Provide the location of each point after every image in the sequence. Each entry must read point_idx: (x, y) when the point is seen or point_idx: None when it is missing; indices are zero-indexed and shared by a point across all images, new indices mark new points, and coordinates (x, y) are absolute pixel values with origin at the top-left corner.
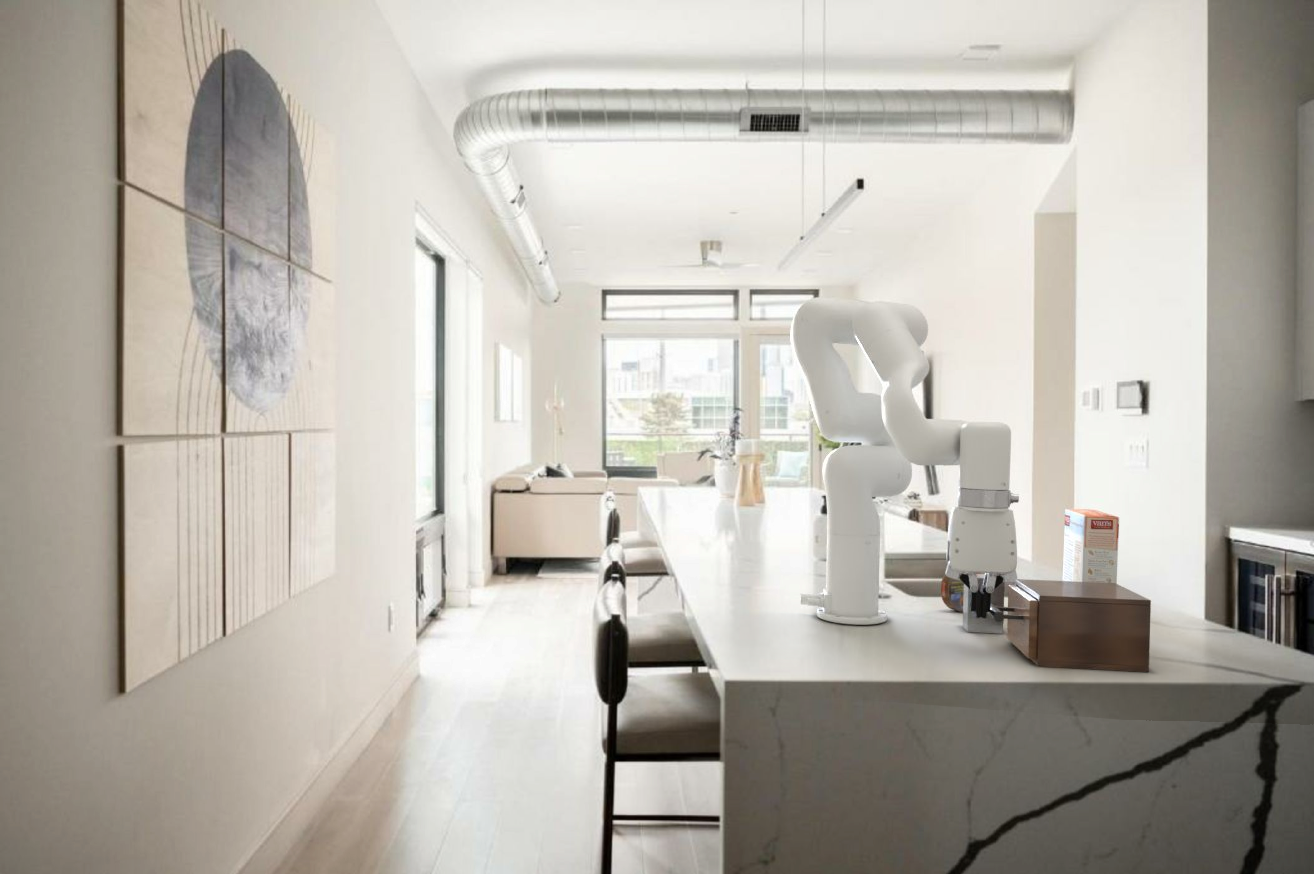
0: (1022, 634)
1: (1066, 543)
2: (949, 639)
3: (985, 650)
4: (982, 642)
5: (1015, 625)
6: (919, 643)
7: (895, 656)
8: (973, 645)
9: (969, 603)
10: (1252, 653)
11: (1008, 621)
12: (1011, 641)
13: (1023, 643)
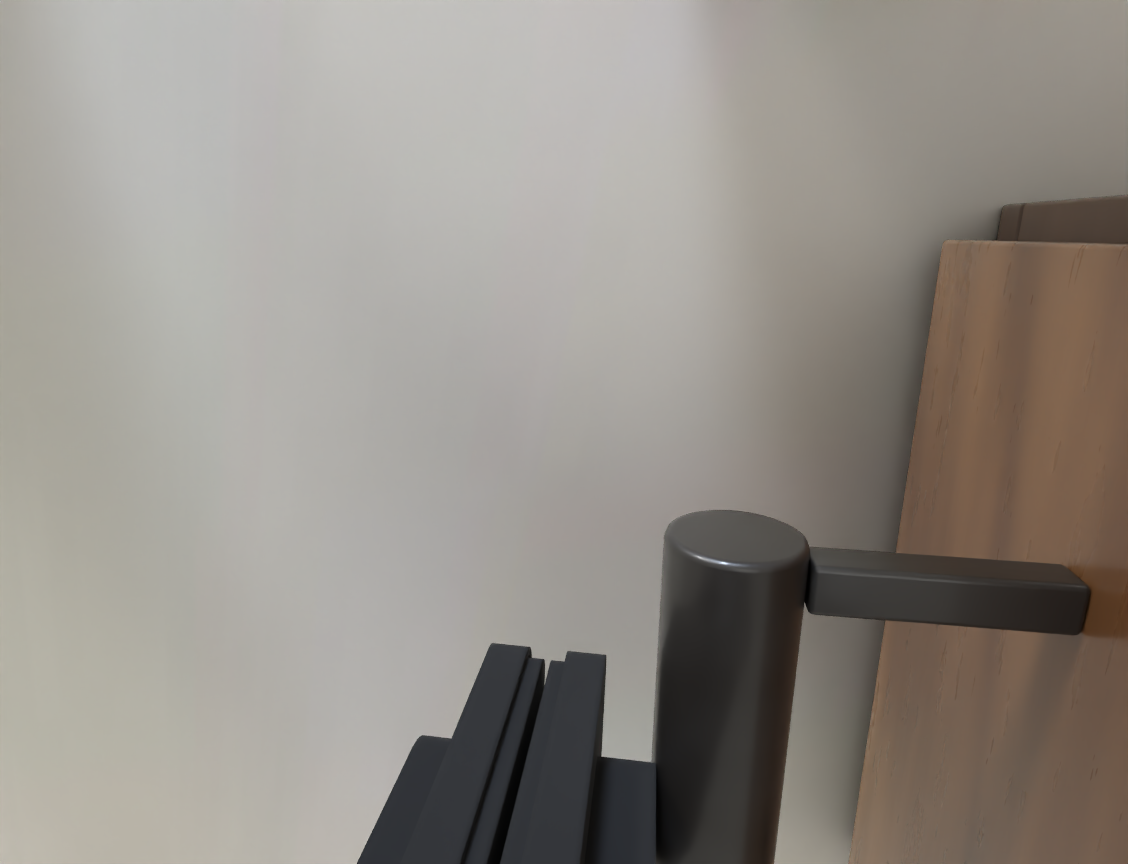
0: (911, 849)
1: None
2: (439, 168)
3: (655, 503)
4: (707, 226)
5: (965, 629)
6: (201, 364)
7: (70, 718)
8: (600, 355)
9: (400, 785)
10: None
11: (1015, 299)
12: (917, 422)
13: (884, 826)
